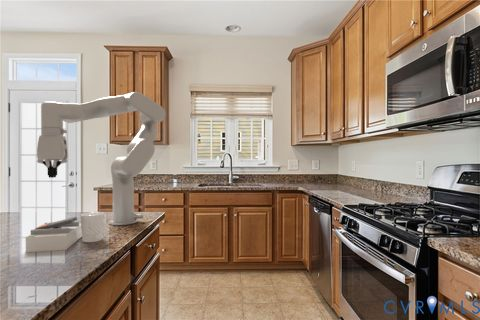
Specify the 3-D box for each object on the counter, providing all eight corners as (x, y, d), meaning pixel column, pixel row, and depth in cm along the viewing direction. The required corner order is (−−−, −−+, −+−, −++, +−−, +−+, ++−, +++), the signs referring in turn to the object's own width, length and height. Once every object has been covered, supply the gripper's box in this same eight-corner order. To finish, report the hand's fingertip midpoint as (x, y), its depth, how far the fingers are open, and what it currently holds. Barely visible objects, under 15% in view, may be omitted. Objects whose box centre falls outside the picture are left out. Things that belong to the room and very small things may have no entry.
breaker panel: (82, 236, 117) (82, 219, 117) (66, 249, 100) (65, 230, 100) (48, 237, 115) (48, 221, 115) (25, 252, 97) (25, 232, 97)
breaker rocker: (77, 219, 111) (76, 216, 111) (71, 223, 106) (70, 219, 105) (42, 228, 109) (41, 224, 109) (35, 232, 103) (33, 228, 103)
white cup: (108, 238, 114) (108, 212, 114) (92, 243, 107) (92, 216, 107) (92, 236, 117) (92, 211, 117) (75, 241, 109) (75, 214, 109)
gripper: (75, 133, 126) (75, 176, 126) (35, 132, 123) (36, 177, 123) (69, 132, 119) (69, 177, 119) (27, 131, 116) (27, 178, 116)
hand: (52, 177), depth 121 cm, fingers closed
